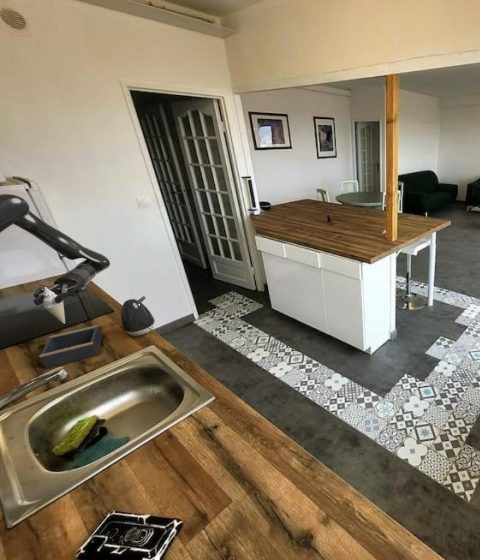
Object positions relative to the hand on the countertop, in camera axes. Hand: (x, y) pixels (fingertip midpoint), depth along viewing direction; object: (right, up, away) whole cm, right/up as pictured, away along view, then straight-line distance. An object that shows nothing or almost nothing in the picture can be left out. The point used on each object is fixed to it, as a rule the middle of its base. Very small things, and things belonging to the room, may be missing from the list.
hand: (46, 301), depth 106 cm
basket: (0, -19, +10) cm, 22 cm away
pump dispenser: (+16, -14, +22) cm, 30 cm away
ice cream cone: (-1, -9, +7) cm, 11 cm away
